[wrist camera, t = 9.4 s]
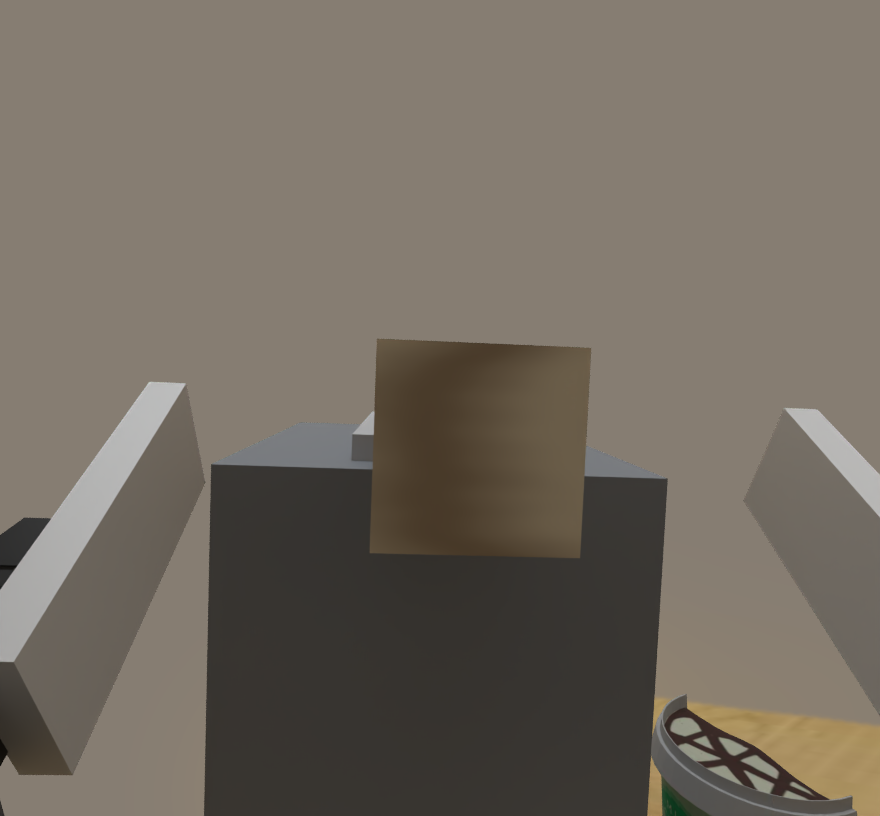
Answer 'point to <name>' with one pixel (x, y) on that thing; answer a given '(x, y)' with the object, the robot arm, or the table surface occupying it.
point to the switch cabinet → (422, 649)
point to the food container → (726, 773)
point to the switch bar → (479, 449)
